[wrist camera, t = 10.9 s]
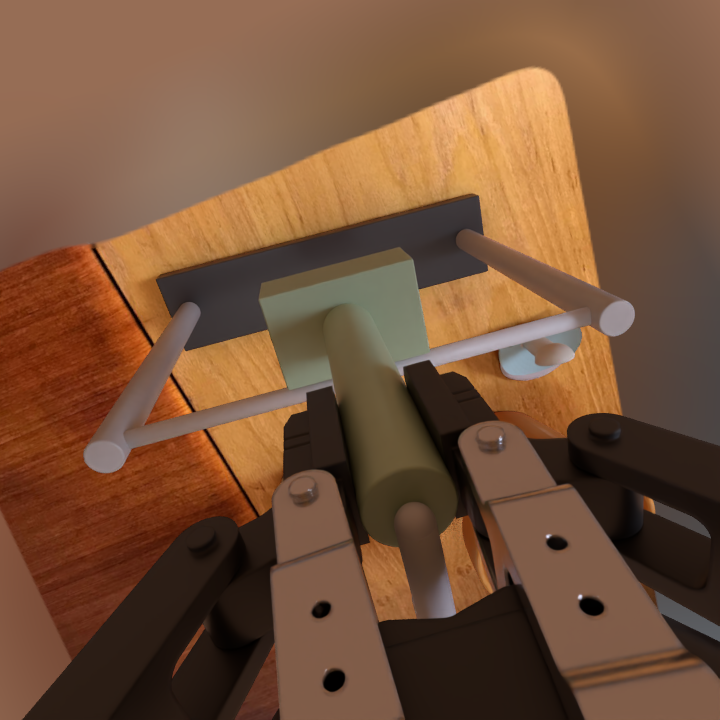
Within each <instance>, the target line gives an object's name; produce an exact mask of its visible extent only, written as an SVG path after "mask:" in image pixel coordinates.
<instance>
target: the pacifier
mask: <svg viewBox="0 0 720 720" xmlns="http://www.w3.org/2000/svg"><path fill="white" fill-rule="evenodd" d="M550 317H551V316H550ZM546 318H547V317H546ZM581 339H582V332H581V329H580V328H576V329H573V330H569V331H565V332H562V333H558V334H554V335H551V336H547V337H543V338H539V339H536V340H532V341H528V342H525V343H521V344H517V345H514V346H510V347H506V348H502V349H499V361H500V369H501V371H502V373H503V374H504V375H505V376H506V377H508V378H510V379H513V380H520V381H522V380H531V379H535V378H539V377H541V376H544V375H546V374H548V373H550V372H551V371H553V370H554V369H556V368H557V367H558V366H559V365H560V364H562V363H565V362H568V361H570V360H572V359H573V358H574V356H575V355H574V353H575V351H576V350H577V348H578V347H579V345H580V342H581Z"/></svg>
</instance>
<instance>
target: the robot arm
mask: <svg viewBox="0 0 720 720" xmlns="http://www.w3.org/2000/svg"><path fill="white" fill-rule="evenodd" d="M403 372H404V377H405V382H406V386H407V389H408V391H409V393H410V395H411V397H412V399H413V401H414V403H415V405H416V407H417V409H418V411H419V413H420V415H421V417H422V419H423V421H424V423H425V425H426V427H427V429H428V431H429V433H430V435H431V437H432V440H433V442H434V444H435V446H436V448H437V450H438V452H439V454H440V456H441V458H442V460H443V462H444V464H445V466H446V468H447V469H448V471H449V473H450V475H451V477H452V479H453V481H454V483H455V486H456V488H457V491H458V496H459V502H458V509H457V512H456V515H455V517H456V519H457V518H460V517H464V516H467V515H468V516H469V518H470V520H471V522H472V526H473V532H474V538H475V542H476V545H477V548H478V551H479V553H480V556H481V559H482V562H483V565H484V568H485V571H486V573H487V576H488V579H489V582H490V585H491V588H492V591H493V593H492V594H490V595H488V596H486V597H485V598H483V599H481V600H479V601H478V602H476V603H474V604H473V605H471V606H469V607H467V608H466V609H464V610H462V611H460V612H459V613H457V614H455V615H453V616H450V617H446V618H427V619H403V620H386V621H382V622H379V620H378V617H377V613H376V610H375V607H374V603H373V600H372V597H371V593H370V590H369V587H368V583H367V580H366V577H365V573H364V570H363V567H362V561H363V560H362V552H361V547H360V545H363V544H367V543H370V541H369V536H368V533H367V532H366V531H365V529H364V528H363V526H362V524H361V521H360V516H359V511H358V506H357V501H356V493H355V488H354V483H353V478H352V473H351V468H350V463H349V458H348V453H347V448H346V443H345V437H344V432H343V427H342V422H341V417H340V412H339V407H338V404H337V400H336V397H335V393H334V390H333V387H332V386H329V387H325V388H321V389H317V390H314V391H310V392H306V399H307V411H304V412H301V413H297V414H293V415H291V417H290V418H289V420H288V421H287V423H286V424H285V426H284V455H283V482H282V483H281V484H280V485H279V486H278V487H277V488H276V489H275V491H274V493H273V496H272V508H271V509H269V510H268V511H267V512H266V513H264V514H263V515H261V516H260V517H258V518H256V519H254V520H252V521H251V522H249V523H247V524H245V525H243V526H241V527H239V528H238V526H237V524H236V523H235V521H233V520H232V519H230V518H228V517H220V516H218V517H211V518H207V519H204V520H201V521H199V522H197V523H195V524H193V525H192V526H190V527H189V528H187V529H186V530H185V531H183V532H182V533H181V534H180V535H179V536H178V537H177V538H176V539H175V541H174V542H173V543H172V544H171V545H170V546H169V548H168V549H167V550H166V551H165V552H164V553H163V555H162V556H161V557H160V558H159V559H158V561H157V562H156V563H155V564H154V565H153V566H152V568H151V569H150V570H149V571H148V572H147V573H146V575H145V576H144V577H143V578H142V579H141V581H140V582H139V583H138V584H137V585H136V586H135V588H134V589H133V590H132V591H131V592H130V593H129V595H128V596H127V597H126V598H125V599H124V601H123V602H122V603H121V604H120V605H119V606H118V608H117V609H116V610H115V611H114V612H113V613H112V615H111V616H110V617H109V618H108V619H107V621H106V622H105V623H104V624H103V625H102V626H101V628H100V629H99V630H98V631H97V632H96V634H95V635H94V636H93V637H92V638H91V639H90V641H89V642H88V643H87V644H86V645H85V646H84V648H83V649H82V650H81V651H80V652H79V654H78V655H77V656H76V657H75V658H74V659H73V661H72V662H71V663H70V664H69V665H68V666H67V668H66V669H65V670H64V671H63V672H62V674H61V675H60V676H59V677H58V678H57V680H56V681H55V682H54V683H53V684H52V685H51V687H50V688H49V689H48V690H47V691H46V693H45V694H44V695H43V696H42V697H41V698H40V699H39V701H38V702H37V703H36V704H35V705H34V707H33V708H32V709H31V710H30V711H29V712H28V714H27V715H26V716H25V717H24V718H23V720H234V719H235V717H236V715H237V714H238V712H239V710H240V708H241V706H242V704H243V702H244V700H245V698H246V696H247V694H248V692H249V690H250V689H251V687H252V685H253V683H254V681H255V679H256V677H257V675H258V673H259V671H260V669H261V667H262V666H263V664H264V662H265V660H266V658H267V656H268V654H269V652H270V650H271V648H272V646H273V644H274V643H275V653H276V667H277V681H278V695H279V709H278V710H277V712H276V714H275V715H274V717H273V719H272V720H720V642H719V641H717V640H715V639H713V638H711V637H709V636H707V635H705V634H703V633H700V632H699V631H696V630H694V629H692V628H690V627H688V626H686V625H684V624H682V623H680V622H678V621H676V620H674V619H672V618H669V617H667V616H665V615H663V614H661V613H660V612H659V610H658V609H657V607H656V606H655V605H654V603H653V602H652V600H651V599H650V597H649V596H648V594H647V593H646V591H645V590H644V588H643V587H642V586H641V584H640V583H639V582H641V583H643V584H645V585H646V586H648V587H650V588H652V589H654V590H655V591H657V592H659V593H661V594H663V595H664V596H666V597H668V598H670V599H672V600H673V601H675V602H677V603H679V604H681V605H682V606H684V607H686V608H688V609H690V610H692V611H693V612H695V613H697V614H699V615H700V616H702V617H704V618H706V619H707V620H709V621H711V622H713V623H715V624H716V625H718V626H720V446H718V445H714V444H711V443H708V442H705V441H702V440H698V439H695V438H692V437H689V436H685V435H682V434H679V433H676V432H673V431H669V430H666V429H663V428H660V427H656V426H653V425H650V424H646V423H644V422H640V421H637V420H634V419H631V418H627V417H624V416H621V415H616V414H609V413H596V414H589V415H585V416H582V417H579V418H577V419H575V420H574V421H573V422H572V423H571V424H570V425H569V426H568V429H567V438H551V439H533V438H527V437H526V435H525V434H524V432H523V431H522V430H521V429H520V428H519V427H517V426H516V425H514V424H511V423H508V422H503V421H500V420H499V419H498V417H497V416H496V415H495V414H494V412H493V411H492V410H491V408H490V407H489V406H488V405H487V403H486V402H485V401H484V399H483V398H482V397H481V396H480V394H479V393H478V392H477V390H476V389H474V386H473V385H472V384H471V383H470V381H469V380H468V379H467V378H466V377H464V376H462V375H460V374H457V373H455V372H449V373H445V374H441V375H439V373H438V372H437V370H436V369H435V367H434V366H433V364H432V363H431V361H430V360H426V361H422V362H418V363H414V364H411V365H407V366H403ZM644 496H645V497H648V498H650V499H653V500H655V501H657V502H660V503H662V504H664V505H667V506H669V507H671V508H674V509H676V510H679V511H681V512H683V513H686V514H688V515H690V516H692V517H694V518H695V519H697V520H698V521H699V522H701V523H702V524H703V525H704V526H705V527H706V529H707V530H708V532H709V534H710V536H711V539H710V538H708V537H706V536H704V535H701V534H699V533H697V532H695V531H692V530H690V529H688V528H686V527H683V526H681V525H679V524H677V523H674V522H672V521H670V520H667V519H665V518H663V517H660V516H659V515H656V514H654V513H652V512H650V511H647V510H645V509H643V505H644ZM202 623H203V625H204V627H205V630H204V631H203V633H202V634H201V636H200V637H199V639H198V640H197V642H196V643H195V645H194V646H193V648H192V649H191V651H190V652H189V654H188V655H187V657H186V658H185V660H184V661H183V663H182V664H181V666H180V667H179V669H178V671H177V672H176V674H175V675H174V677H173V678H172V674H173V671H174V668H175V665H176V663H177V661H178V659H179V658H180V656H181V655H182V653H183V652H184V650H185V649H186V647H187V646H188V644H189V643H190V641H191V640H192V638H193V637H194V635H195V634H196V632H197V631H198V629H199V628H200V626H201V625H202Z"/></svg>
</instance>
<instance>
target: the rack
mask: <svg viewBox="0 0 720 720" xmlns="http://www.w3.org/2000/svg"><path fill="white" fill-rule="evenodd" d="M398 247H400V248H401V249H402V250H403V251H404V252H405V253H407V254H408V255H409V256H410V257H411V258H412V259H413V262H414V267H415V273H416V278H417V284H418V289H422V288H426V287H430V286H433V285H437V284H441V283H445V282H448V281H452V280H456V279H460V278H464V277H467V276H471V275H475V274H479V273H482V272H486V271H488V266H487V265H489V266H490V267H492V268H494V269H495V270H497V271H499V272H500V273H502V274H504V275H505V276H507V277H509V278H510V279H512V280H514V281H516V282H517V283H519V284H521V285H522V286H524V287H526V288H527V289H529V290H531V291H532V292H534V293H536V294H537V295H539V296H541V297H542V298H544V299H546V300H547V301H549V302H551V303H552V304H554V305H556V306H558V307H559V308H561V309H563V310H564V311H566V313H562V314H558V315H554V316H551V317H547V318H543V319H540V320H536V321H532V322H528V323H525V324H521V325H517V326H514V327H510V328H506V329H502V330H499V331H495V332H491V333H488V334H484V335H480V336H476V337H473V338H469V339H465V340H462V341H458V342H454V343H450V344H447V345H443V346H439V347H436V348H432V349H430V352H429V353H427V354H423V355H419V356H415V357H412V358H408V359H404V360H401V361H397V362H394V363H395V365H396V367H397V369H398V371H399V373H400V375H401V376H403V375H404V372H403V366H407V365H411V364H414V363H418V362H422V361H426V360H430V361H431V363H432V364H433V366H434V367H436V366H440V365H443V364H447V363H451V362H454V361H458V360H462V359H465V358H469V357H473V356H477V355H480V354H484V353H488V352H491V351H495V350H499V349H502V348H506V347H510V346H514V345H517V344H521V343H525V342H528V341H532V340H536V339H539V338H543V337H547V336H551V335H554V334H558V333H562V332H565V331H569V330H573V329H576V328H580V327H584V326H588V325H589V326H591V327H593V328H595V329H596V330H598V331H600V332H601V333H603V334H605V335H607V336H617V335H620V334H622V333H624V332H625V331H626V330H628V328H629V327H630V326H631V324H632V323H633V320H634V316H635V312H634V309H633V306H632V305H631V304H630V303H629V302H627V301H625V300H623V299H621V298H619V297H616V296H614V295H612V294H610V293H608V292H605V291H603V290H601V289H599V288H597V287H595V286H592V285H590V284H588V283H586V282H584V281H582V280H579V279H577V278H575V277H573V276H571V275H568V274H566V273H564V272H562V271H560V270H558V269H555V268H553V267H551V266H549V265H547V264H544V263H542V262H540V261H538V260H536V259H533V258H531V257H529V256H527V255H525V254H523V253H520V252H518V251H516V250H514V249H512V248H509V247H507V246H505V245H503V244H501V243H499V242H496V241H494V240H492V239H490V238H488V237H485V236H484V234H483V226H482V217H481V209H480V201H479V195H475V194H469V195H465V196H461V197H457V198H454V199H450V200H446V201H442V202H438V203H434V204H430V205H427V206H423V207H419V208H415V209H411V210H407V211H404V212H400V213H396V214H392V215H388V216H384V217H380V218H377V219H373V220H369V221H365V222H361V223H357V224H354V225H350V226H346V227H342V228H338V229H334V230H331V231H327V232H323V233H319V234H315V235H311V236H307V237H304V238H300V239H296V240H292V241H288V242H284V243H281V244H277V245H273V246H269V247H265V248H261V249H258V250H254V251H250V252H246V253H242V254H238V255H234V256H231V257H227V258H223V259H219V260H215V261H211V262H208V263H204V264H200V265H196V266H192V267H188V268H185V269H181V270H177V271H173V272H169V273H165V274H161V275H160V276H159V277H158V278H157V279H156V282H157V284H158V286H159V289H160V291H161V294H162V296H163V298H164V301H165V303H166V306H167V308H168V310H169V313H170V315H171V318H172V319H171V321H170V322H169V324H168V325H167V327H166V328H165V330H164V331H163V333H162V334H161V336H160V337H159V339H158V340H157V342H156V343H155V345H154V346H153V348H152V349H151V351H150V352H149V354H148V355H147V357H146V358H145V360H144V361H143V363H142V364H141V365H140V367H139V368H138V370H137V371H136V373H135V374H134V376H133V377H132V379H131V380H130V382H129V383H128V385H127V386H126V388H125V389H124V391H123V392H122V394H121V395H120V397H119V398H118V400H117V401H116V403H115V404H114V406H113V407H112V409H111V410H110V412H109V413H108V415H107V416H106V418H105V419H104V421H103V422H102V424H101V425H100V427H99V428H98V430H97V431H96V433H95V434H94V436H93V437H92V439H91V440H90V442H89V443H88V445H87V446H86V448H85V449H84V453H83V456H84V461H85V463H86V464H87V465H88V466H89V467H90V468H91V469H93V470H94V471H97V472H100V473H111V472H115V471H117V470H118V469H120V468H121V467H122V466H123V465H124V463H125V461H126V459H127V457H128V455H129V453H130V451H131V449H132V448H136V447H140V446H144V445H147V444H151V443H155V442H158V441H162V440H166V439H169V438H173V437H177V436H181V435H184V434H188V433H192V432H195V431H199V430H203V429H206V428H210V427H214V426H218V425H221V424H225V423H229V422H232V421H236V420H240V419H243V418H247V417H251V416H255V415H258V414H262V413H266V412H269V411H273V410H277V409H280V408H284V407H288V406H292V405H295V404H299V403H303V402H306V401H307V399H306V392H310V391H314V390H317V389H321V388H325V387H329V386H332V387H333V390H334V385H333V379H330V380H326V381H323V382H319V383H315V384H311V385H308V386H304V387H300V388H297V389H293V390H288V388H283V389H279V390H276V391H272V392H268V393H265V394H261V395H257V396H253V397H250V398H246V399H242V400H239V401H235V402H231V403H227V404H224V405H220V406H216V407H213V408H209V409H205V410H201V411H198V412H194V413H190V414H186V415H183V416H179V417H175V418H172V419H168V420H164V421H160V422H157V423H153V424H149V425H146V426H144V424H145V422H146V420H147V418H148V416H149V414H150V412H151V410H152V408H153V406H154V405H155V403H156V401H157V399H158V397H159V395H160V393H161V391H162V389H163V387H164V385H165V383H166V381H167V379H168V377H169V375H170V373H171V372H172V370H173V368H174V366H175V364H176V362H177V360H178V358H179V356H180V354H181V352H182V350H183V348H184V349H185V351H188V350H192V349H196V348H200V347H203V346H207V345H211V344H215V343H218V342H222V341H226V340H230V339H234V338H237V337H241V336H245V335H249V334H252V333H256V332H260V331H264V330H267V329H268V328H267V325H266V322H265V319H264V316H263V313H262V310H261V307H260V304H259V301H258V300H259V294H260V289H261V284H262V283H264V282H268V281H272V280H276V279H279V278H283V277H287V276H291V275H295V274H298V273H302V272H306V271H310V270H314V269H318V268H321V267H325V266H329V265H333V264H337V263H340V262H344V261H348V260H352V259H356V258H360V257H363V256H367V255H371V254H375V253H379V252H382V251H386V250H390V249H394V248H398ZM334 393H335V390H334Z"/></svg>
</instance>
